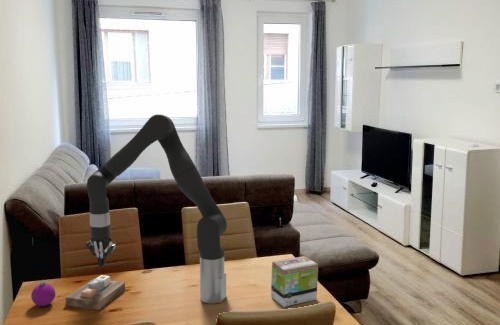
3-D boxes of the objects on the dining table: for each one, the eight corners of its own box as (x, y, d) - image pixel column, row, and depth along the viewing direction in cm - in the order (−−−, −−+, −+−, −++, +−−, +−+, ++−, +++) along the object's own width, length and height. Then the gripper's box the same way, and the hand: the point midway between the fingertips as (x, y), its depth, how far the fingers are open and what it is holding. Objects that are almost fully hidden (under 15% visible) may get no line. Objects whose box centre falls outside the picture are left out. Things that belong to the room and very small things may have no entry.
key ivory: (110, 283, 186) (110, 275, 186) (104, 288, 182) (104, 279, 182) (101, 282, 187) (101, 274, 187) (95, 286, 183) (95, 278, 183)
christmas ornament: (34, 301, 178) (32, 276, 176) (57, 298, 180) (55, 274, 178) (30, 311, 170) (28, 285, 168) (54, 308, 172) (52, 282, 170)
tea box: (284, 308, 173) (284, 270, 170) (270, 297, 182) (270, 261, 179) (317, 299, 180) (318, 263, 177) (303, 289, 188) (303, 254, 186)
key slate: (103, 288, 182) (103, 280, 181) (97, 292, 178) (97, 284, 178) (94, 287, 183) (94, 279, 182) (88, 291, 179) (88, 283, 179)
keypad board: (125, 289, 188) (124, 282, 187) (98, 310, 171) (98, 302, 170) (94, 285, 192) (94, 278, 191) (66, 305, 174) (65, 297, 174)
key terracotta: (97, 296, 178) (96, 288, 177) (90, 301, 174) (90, 293, 174) (88, 295, 179) (87, 287, 178) (81, 300, 175) (81, 291, 175)
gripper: (120, 222, 182) (122, 264, 185) (91, 219, 186) (93, 260, 189) (109, 228, 175) (111, 271, 178) (79, 224, 179) (81, 267, 182)
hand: (102, 266), depth 184 cm, fingers closed
